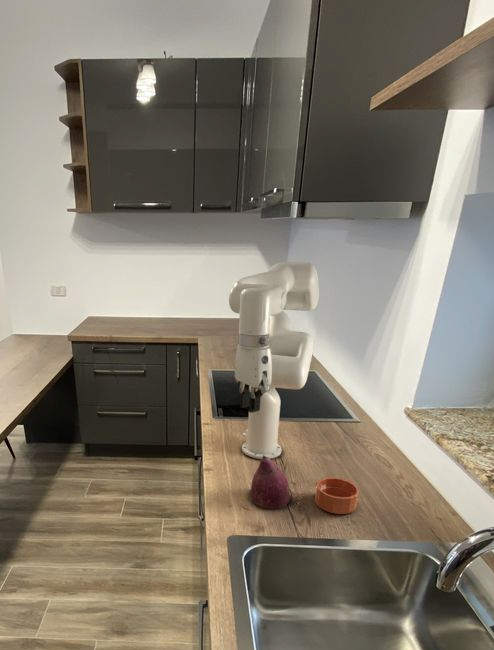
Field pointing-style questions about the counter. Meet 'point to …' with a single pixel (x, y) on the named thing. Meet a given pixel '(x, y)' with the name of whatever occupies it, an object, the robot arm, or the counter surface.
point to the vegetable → (269, 485)
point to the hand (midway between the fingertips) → (249, 408)
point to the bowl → (336, 495)
